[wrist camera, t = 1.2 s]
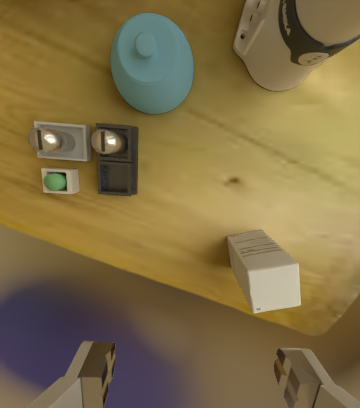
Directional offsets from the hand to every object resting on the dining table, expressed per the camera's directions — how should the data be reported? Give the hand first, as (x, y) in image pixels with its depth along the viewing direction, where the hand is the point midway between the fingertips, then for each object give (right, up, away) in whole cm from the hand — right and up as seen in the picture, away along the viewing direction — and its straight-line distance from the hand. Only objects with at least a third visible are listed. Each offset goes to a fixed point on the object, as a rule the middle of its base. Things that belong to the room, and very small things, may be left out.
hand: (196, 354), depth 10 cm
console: (-26, +13, +34) cm, 45 cm away
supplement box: (+16, -3, +39) cm, 42 cm away
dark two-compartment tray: (-14, +17, +33) cm, 40 cm away
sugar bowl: (-6, +33, +29) cm, 44 cm away
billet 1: (-25, +20, +31) cm, 45 cm away
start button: (-26, +12, +32) cm, 43 cm away
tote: (-25, +21, +32) cm, 45 cm away
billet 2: (-14, +20, +31) cm, 39 cm away
